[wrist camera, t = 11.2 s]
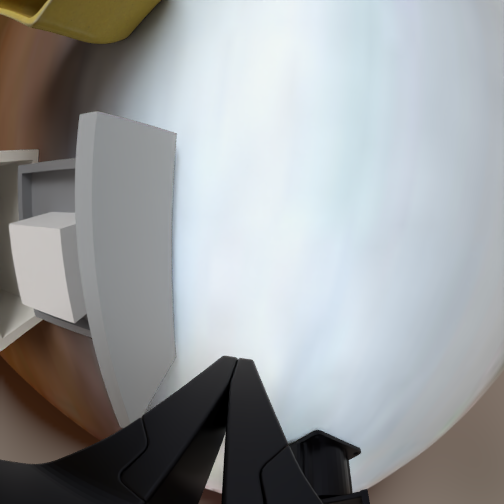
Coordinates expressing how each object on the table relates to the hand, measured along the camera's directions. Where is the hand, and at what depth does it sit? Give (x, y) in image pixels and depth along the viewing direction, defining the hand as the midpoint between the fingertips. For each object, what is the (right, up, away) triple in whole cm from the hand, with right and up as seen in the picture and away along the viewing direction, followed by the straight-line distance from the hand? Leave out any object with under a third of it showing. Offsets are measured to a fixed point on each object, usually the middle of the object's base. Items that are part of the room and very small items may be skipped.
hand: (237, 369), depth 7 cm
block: (-11, +3, +8) cm, 14 cm away
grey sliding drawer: (-10, +4, +9) cm, 14 cm away
